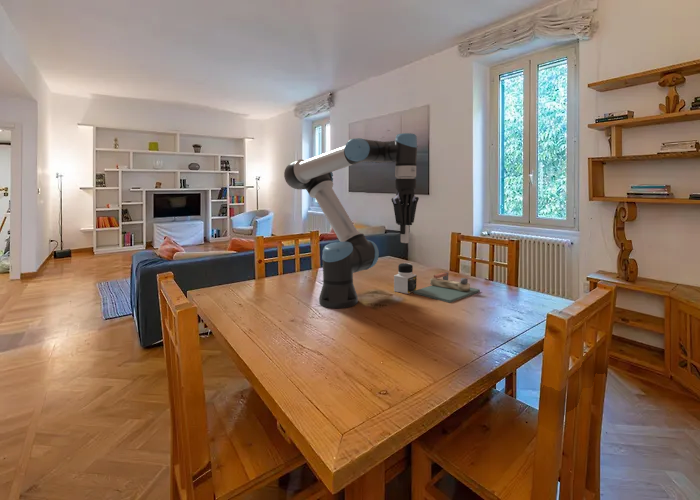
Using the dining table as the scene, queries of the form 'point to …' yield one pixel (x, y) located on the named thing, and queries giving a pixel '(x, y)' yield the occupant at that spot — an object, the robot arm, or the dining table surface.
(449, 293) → the pintle board
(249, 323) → the dining table surface
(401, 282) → the medicine bottle
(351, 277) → the robot arm
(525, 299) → the dining table surface
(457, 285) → the beige lumpy bar
